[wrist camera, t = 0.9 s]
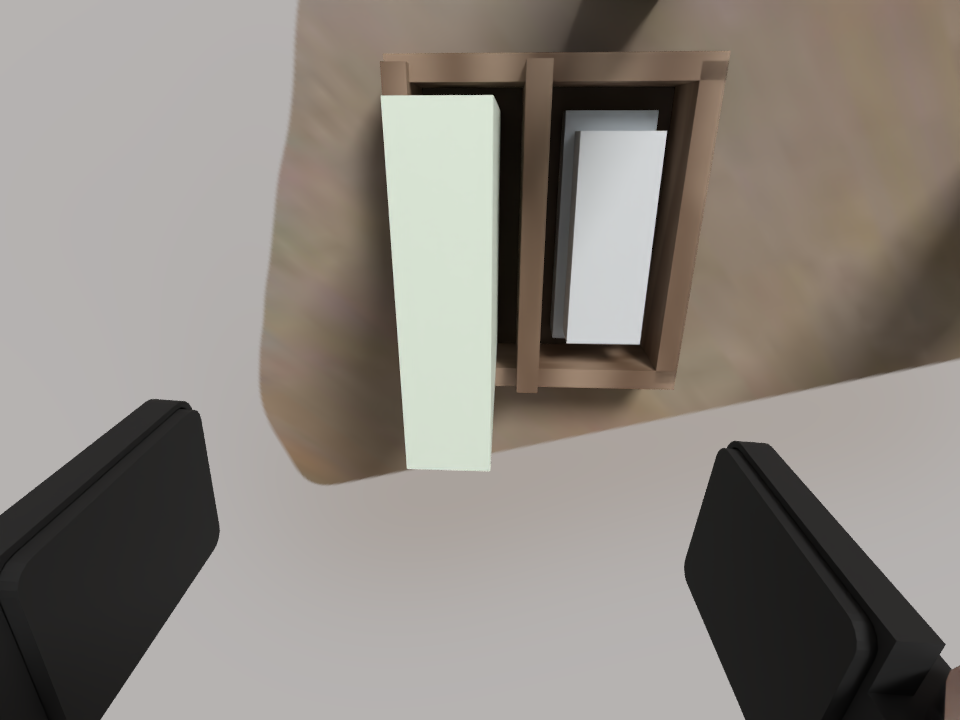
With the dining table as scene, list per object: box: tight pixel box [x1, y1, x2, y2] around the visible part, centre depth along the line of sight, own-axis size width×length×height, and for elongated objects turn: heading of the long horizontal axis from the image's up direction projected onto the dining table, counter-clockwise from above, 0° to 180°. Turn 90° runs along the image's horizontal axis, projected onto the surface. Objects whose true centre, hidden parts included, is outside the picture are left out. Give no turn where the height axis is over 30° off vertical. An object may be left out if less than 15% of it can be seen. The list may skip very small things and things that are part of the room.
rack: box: [380, 51, 731, 393], centre depth 36 cm, size 20×22×7 cm
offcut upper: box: [563, 131, 667, 344], centre depth 36 cm, size 5×14×3 cm, turn 0°
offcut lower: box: [550, 110, 659, 338], centre depth 39 cm, size 6×16×3 cm, turn 0°
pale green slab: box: [381, 95, 501, 471], centre depth 31 cm, size 4×16×20 cm, turn 0°
